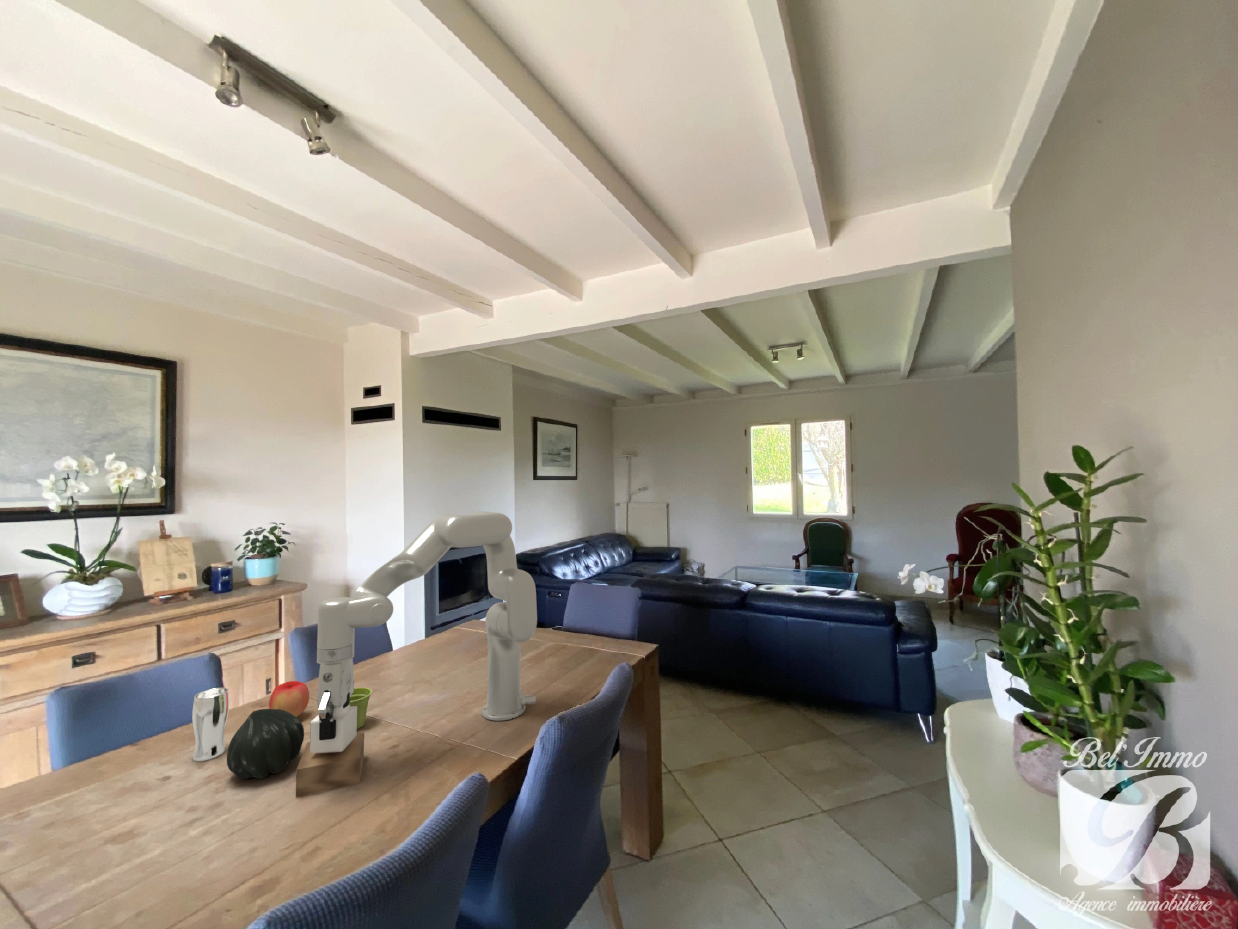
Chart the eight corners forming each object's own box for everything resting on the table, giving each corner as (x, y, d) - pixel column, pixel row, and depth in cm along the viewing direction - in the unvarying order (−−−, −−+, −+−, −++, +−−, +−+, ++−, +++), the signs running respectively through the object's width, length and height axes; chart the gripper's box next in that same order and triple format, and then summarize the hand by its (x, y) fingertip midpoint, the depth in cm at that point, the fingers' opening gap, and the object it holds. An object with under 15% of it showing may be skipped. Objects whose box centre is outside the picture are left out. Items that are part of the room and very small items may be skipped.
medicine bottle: (325, 737, 114) (327, 686, 114) (357, 736, 114) (358, 685, 115) (309, 754, 107) (310, 699, 107) (342, 752, 107) (343, 697, 108)
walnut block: (363, 757, 118) (364, 732, 118) (359, 784, 107) (359, 757, 107) (306, 768, 113) (307, 742, 114) (295, 798, 102) (296, 769, 103)
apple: (260, 723, 135) (262, 687, 135) (296, 709, 143) (297, 675, 144) (279, 731, 130) (281, 693, 131) (315, 716, 139) (316, 681, 139)
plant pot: (354, 736, 127) (355, 703, 128) (324, 733, 129) (325, 700, 130) (378, 720, 137) (379, 689, 137) (350, 716, 138) (350, 686, 139)
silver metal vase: (233, 750, 121) (236, 689, 122) (202, 765, 114) (205, 700, 115) (215, 745, 123) (218, 685, 124) (183, 759, 117) (186, 696, 117)
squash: (326, 726, 122) (283, 684, 120) (297, 761, 107) (248, 714, 106) (280, 767, 120) (236, 726, 118) (244, 809, 105) (193, 762, 104)
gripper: (340, 664, 104) (338, 748, 103) (364, 639, 121) (363, 711, 120) (301, 667, 102) (299, 752, 101) (332, 642, 119) (330, 714, 118)
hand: (334, 729), depth 111 cm, fingers closed on medicine bottle, 7 cm apart
